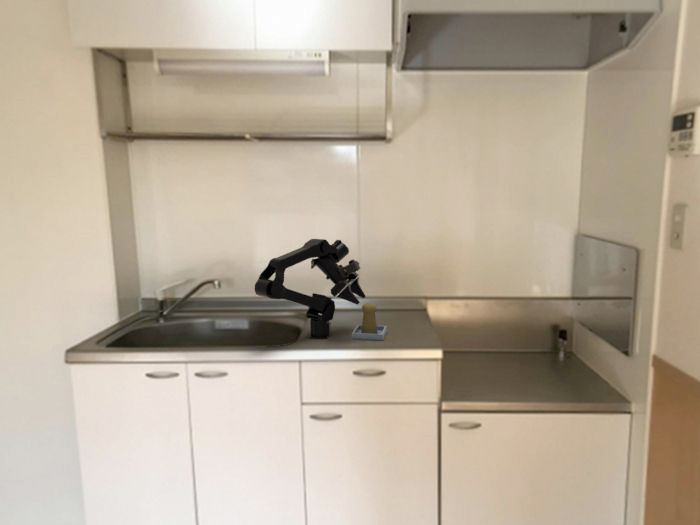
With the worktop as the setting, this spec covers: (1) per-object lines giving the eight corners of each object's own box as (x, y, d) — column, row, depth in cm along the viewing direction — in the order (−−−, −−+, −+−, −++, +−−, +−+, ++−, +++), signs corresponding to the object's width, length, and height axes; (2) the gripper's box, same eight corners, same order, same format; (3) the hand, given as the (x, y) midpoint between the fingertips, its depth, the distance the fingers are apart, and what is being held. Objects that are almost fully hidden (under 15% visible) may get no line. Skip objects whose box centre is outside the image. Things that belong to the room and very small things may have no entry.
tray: (352, 339, 162) (351, 333, 162) (357, 330, 173) (357, 324, 173) (382, 340, 160) (382, 334, 160) (386, 331, 171) (386, 326, 170)
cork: (378, 331, 169) (378, 302, 168) (377, 336, 163) (377, 305, 162) (361, 331, 170) (361, 301, 168) (360, 336, 164) (359, 305, 162)
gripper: (338, 257, 154) (371, 290, 153) (352, 249, 172) (382, 279, 171) (317, 280, 158) (349, 313, 157) (332, 270, 176) (362, 300, 174)
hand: (361, 300), depth 165 cm, fingers open, 9 cm apart
